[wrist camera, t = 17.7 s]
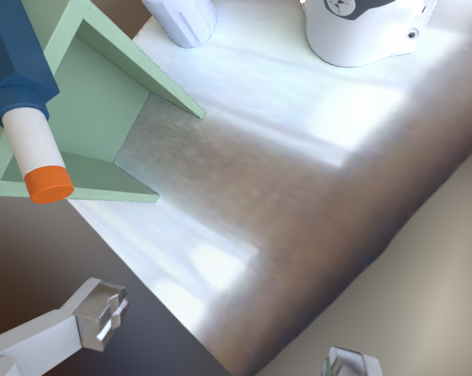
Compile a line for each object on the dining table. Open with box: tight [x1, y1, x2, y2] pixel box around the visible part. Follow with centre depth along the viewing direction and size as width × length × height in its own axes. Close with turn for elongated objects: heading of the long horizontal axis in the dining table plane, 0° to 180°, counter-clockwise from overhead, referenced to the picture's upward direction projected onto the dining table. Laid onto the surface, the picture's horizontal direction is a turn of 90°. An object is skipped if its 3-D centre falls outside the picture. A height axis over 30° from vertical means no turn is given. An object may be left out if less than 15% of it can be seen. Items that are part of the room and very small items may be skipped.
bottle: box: [0, 0, 74, 204], centre depth 19 cm, size 20×4×3 cm, turn 29°
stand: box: [0, 0, 207, 203], centre depth 36 cm, size 13×18×27 cm
